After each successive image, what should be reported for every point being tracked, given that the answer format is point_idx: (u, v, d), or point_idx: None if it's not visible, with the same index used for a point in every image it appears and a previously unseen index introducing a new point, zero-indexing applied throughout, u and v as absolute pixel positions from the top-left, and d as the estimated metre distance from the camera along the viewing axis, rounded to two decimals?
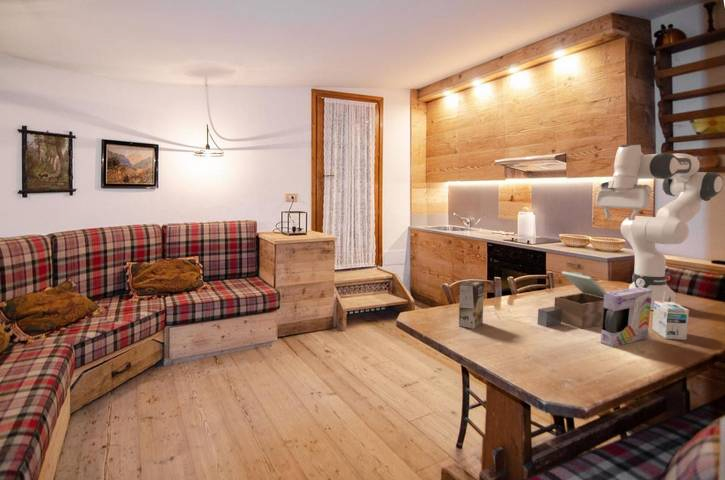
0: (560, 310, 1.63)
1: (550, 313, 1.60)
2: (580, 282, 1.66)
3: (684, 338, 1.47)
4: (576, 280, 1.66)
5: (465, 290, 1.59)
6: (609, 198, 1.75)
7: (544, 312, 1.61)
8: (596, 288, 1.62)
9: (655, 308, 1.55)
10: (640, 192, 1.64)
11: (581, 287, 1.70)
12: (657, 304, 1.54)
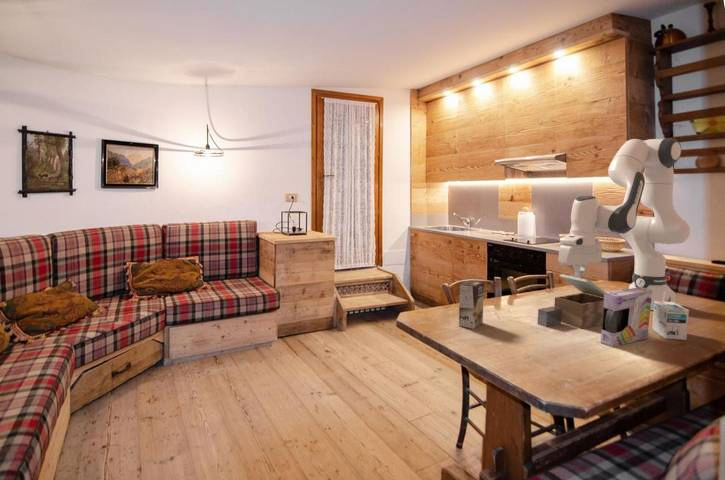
0: (560, 310, 1.63)
1: (550, 313, 1.60)
2: (579, 284, 1.66)
3: (684, 338, 1.47)
4: (575, 282, 1.66)
5: (465, 290, 1.59)
6: (577, 255, 1.60)
7: (544, 312, 1.61)
8: (595, 290, 1.62)
9: (655, 308, 1.55)
10: (599, 247, 1.65)
11: (581, 288, 1.70)
12: (657, 304, 1.54)
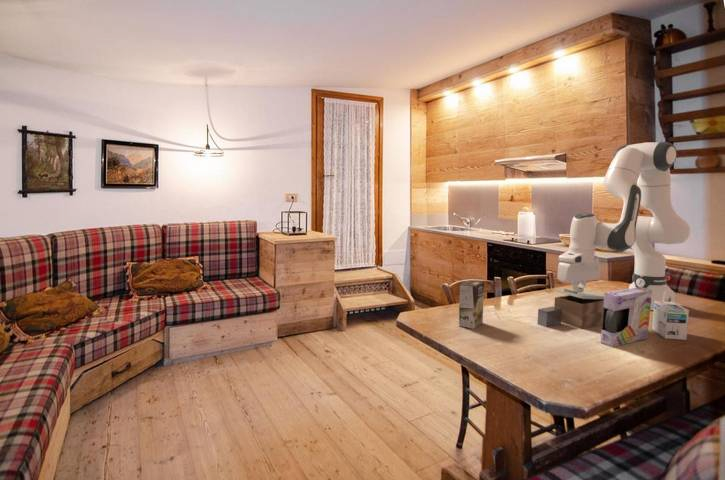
0: (560, 310, 1.63)
1: (550, 313, 1.60)
2: None
3: (684, 338, 1.47)
4: None
5: (465, 290, 1.59)
6: (576, 273, 1.60)
7: (544, 312, 1.61)
8: None
9: (655, 308, 1.55)
10: (597, 264, 1.65)
11: None
12: (657, 304, 1.54)
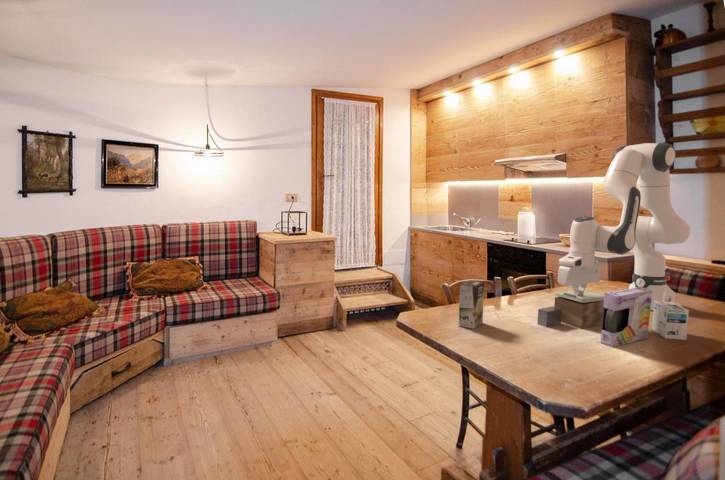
0: (560, 310, 1.63)
1: (550, 313, 1.60)
2: None
3: (684, 338, 1.47)
4: None
5: (465, 290, 1.59)
6: (576, 276, 1.61)
7: (544, 312, 1.61)
8: None
9: (655, 308, 1.55)
10: (598, 266, 1.66)
11: None
12: (657, 304, 1.54)
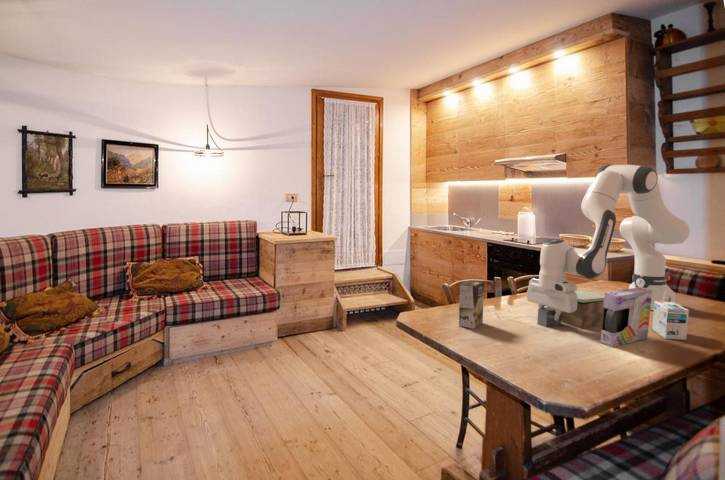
0: None
1: (550, 313, 1.60)
2: None
3: (684, 338, 1.47)
4: None
5: (465, 290, 1.59)
6: None
7: (544, 312, 1.61)
8: None
9: (655, 308, 1.55)
10: None
11: None
12: (657, 304, 1.54)
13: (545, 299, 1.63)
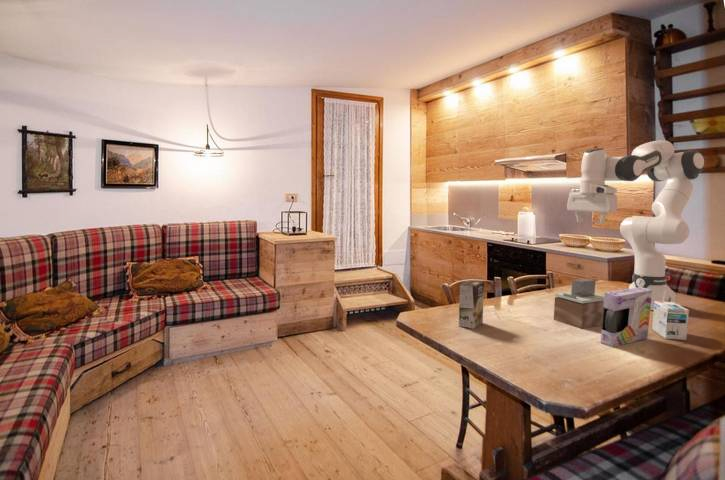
0: (594, 281, 1.65)
1: (584, 283, 1.63)
2: None
3: (684, 338, 1.47)
4: None
5: (465, 290, 1.59)
6: None
7: (578, 282, 1.63)
8: None
9: (655, 308, 1.55)
10: None
11: None
12: (657, 304, 1.54)
13: (586, 205, 1.76)
